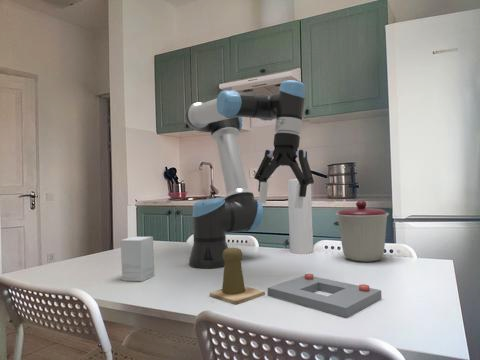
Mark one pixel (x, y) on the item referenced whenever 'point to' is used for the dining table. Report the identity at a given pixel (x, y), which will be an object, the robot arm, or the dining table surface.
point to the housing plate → (339, 303)
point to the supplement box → (137, 258)
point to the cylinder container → (300, 221)
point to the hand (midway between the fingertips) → (279, 205)
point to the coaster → (238, 295)
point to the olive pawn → (232, 272)
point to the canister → (362, 232)
